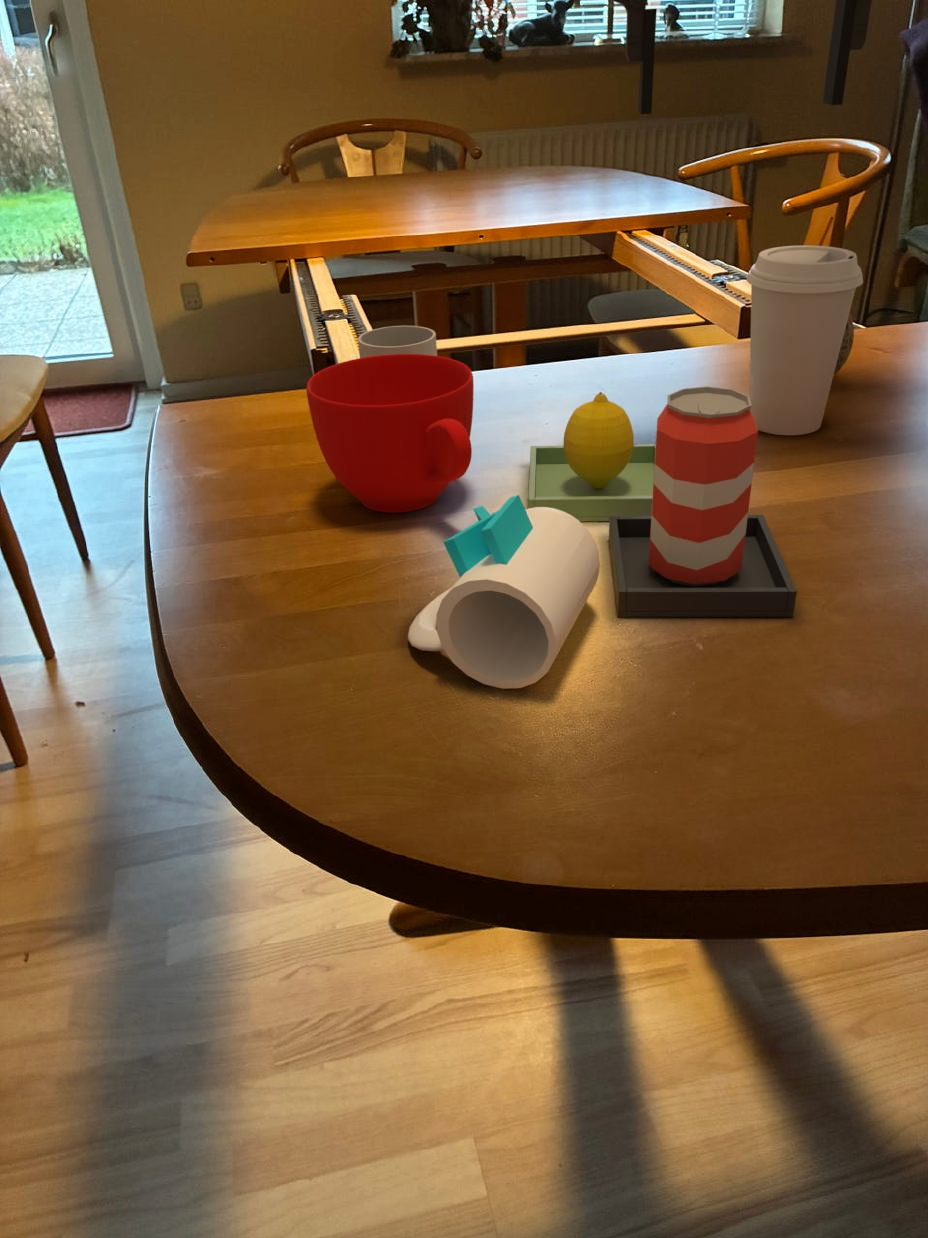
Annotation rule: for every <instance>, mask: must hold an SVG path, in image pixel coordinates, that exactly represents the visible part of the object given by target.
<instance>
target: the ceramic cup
mask: <svg viewBox="0 0 928 1238" xmlns="http://www.w3.org/2000/svg"><path fill="white" fill-rule="evenodd" d="M474 388H475V387H474V376H473V371H472V369H471V368H470V367H469V366H468V365H467V364H465V363H463V362H461V361H459V360H456V359H453V358H450V357H445V356H440V355H437V356H433V355H424V354H391V355H379V356H371V357H364V358H360V357H359V358H354V359H349V360H346V361H342V362H339V363H336V364H333V365H330V366H327V367H325V368H323V369H322V370H319V371H317V372H316V373H315V374H313V375H312V376H311V377H310V378H309V380H308V381H307V384H306V398H307V403H308V408H309V413H310V417H311V422H312V426H313V430H314V433H315V434H314V435H315V437H316V440H317V443H318V446H319V449H320V451H321V454H322V456H323V458H324V460H325V462H326V464H327V466H328V468H329V470H330V471H331V473H332V474H333V476H334V477H335V478H336V480H337V481H338V482H339V483H340V484H341V485H342V486H343V487H344V488H345V489H346V490H347V491H348V492H349V493H350V494H351V495H352V496H354V497H355V498H356V499H357V500H358V501H359V502H361V504H362V505H363V506H364V507H366V508H367V509H369V510H373V511H375V512H376V511H377V512H379V513H390V514H394V513H395V514H397V513H408V512H413V511H417V510H420V509H424V508H427V507H429V506H431V505H432V504H434V503H435V502H436V501H437V500H438V499H439V498H440V496H441V494H442V493H443V492H444V491H445V490H446V489H447V487H448V486H449V485H450V484H451V483H452V482H455V481H457V480H460V478H462V477H463V476H464V475H465V474H466V473H467V471H468V470H469V467H470V465H471V461H472V455H473V453H472V452H473V451H472V442H471V432H472V424H473V414H474V391H475V390H474Z"/></svg>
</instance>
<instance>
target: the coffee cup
mask: <svg viewBox="0 0 928 1238" xmlns="http://www.w3.org/2000/svg"><path fill="white" fill-rule="evenodd" d="M863 278H864V277H863V272H862V268H861V267H860V265H858V256H857V253H856V252H854V251H852V250H850V249H845V248H843V247H842V248H841V247H835V246H829V245H827V246H826V245H811V244H809V245H807V244H805V245H803V244H802V245H785V246H777V247H770V248H767V249H765V250H762V251H760V252H759V253H758V257H757V258H756V261H755V263H754V264H753V265H751V267H750V270H749V271H748V273H747V276H746V282H747V283H748V284H749V285H750V287H751V289H750V290H751V291H750V292H751V293H750V295H751V297H750V298H751V299H750V300H751V301H750V340H749V341H750V342H749V345H750V346H749V378H748V379H749V380H748V381H749V384H748V396H750V401H751V409H750V410H751V412H752V414H753V416H754V418H755V420H756V425H757V429H758V432H759V431H760V432H762V433H766V434H771V435H777V436H803V435H808V434H811V433H814V432H816V431H818V430H819V429H820V428H821V426H822V422H823V418H824V416H825V415H824V414H825V411H826V408H827V407H826V406H827V403H828V399H829V395H830V391H831V387H832V382H833V379H834V376H835V375H834V371H835V367H836V363H837V359H838V355H839V351H840V347H841V343H842V339H843V336H844V332H845V328H846V324H847V320H848V316H849V312H850V313H851V308H852V304H853V300H854V297H855V293H856V290H857V288H858V287H861V286H862V285H863V283H864V279H863Z"/></svg>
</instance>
